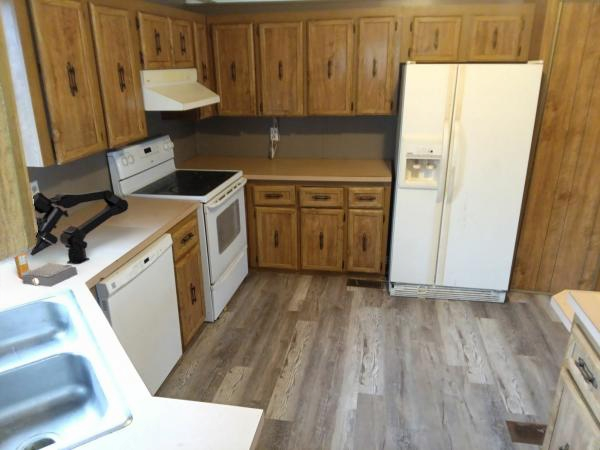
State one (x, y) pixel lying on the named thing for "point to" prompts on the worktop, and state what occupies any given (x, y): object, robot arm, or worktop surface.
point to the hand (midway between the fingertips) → (25, 253)
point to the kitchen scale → (49, 278)
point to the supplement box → (21, 265)
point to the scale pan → (49, 270)
